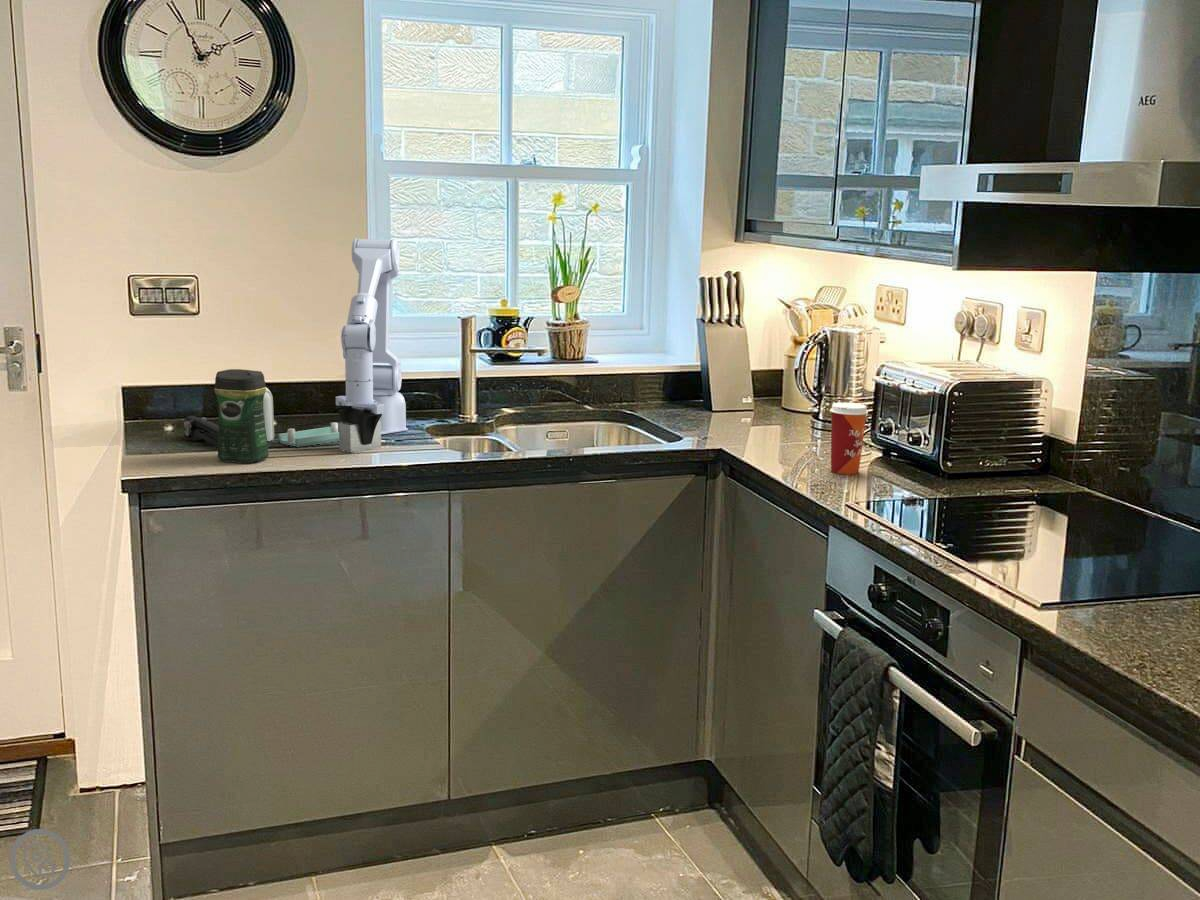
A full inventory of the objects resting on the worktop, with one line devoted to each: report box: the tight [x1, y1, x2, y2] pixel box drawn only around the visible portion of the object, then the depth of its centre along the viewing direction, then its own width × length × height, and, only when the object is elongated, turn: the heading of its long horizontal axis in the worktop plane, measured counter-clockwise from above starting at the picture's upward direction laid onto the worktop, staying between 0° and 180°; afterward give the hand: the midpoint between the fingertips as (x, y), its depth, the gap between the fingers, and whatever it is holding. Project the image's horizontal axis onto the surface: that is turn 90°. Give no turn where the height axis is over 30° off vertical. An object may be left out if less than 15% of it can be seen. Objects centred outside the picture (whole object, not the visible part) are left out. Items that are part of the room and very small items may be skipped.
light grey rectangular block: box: [338, 420, 382, 453], centre depth 249 cm, size 8×4×6 cm, turn 138°
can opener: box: [183, 415, 219, 448], centre depth 251 cm, size 18×7×6 cm, turn 44°
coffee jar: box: [214, 368, 269, 464], centre depth 235 cm, size 10×8×19 cm
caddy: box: [278, 422, 339, 447], centre depth 256 cm, size 13×7×4 cm, turn 138°
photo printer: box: [263, 387, 275, 442], centre depth 257 cm, size 10×4×12 cm, turn 39°
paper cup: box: [829, 402, 869, 476], centre depth 239 cm, size 8×8×14 cm
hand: (360, 442), depth 250 cm, fingers closed on light grey rectangular block, 4 cm apart
